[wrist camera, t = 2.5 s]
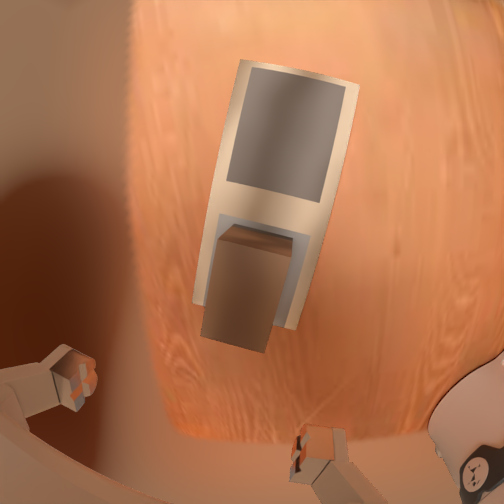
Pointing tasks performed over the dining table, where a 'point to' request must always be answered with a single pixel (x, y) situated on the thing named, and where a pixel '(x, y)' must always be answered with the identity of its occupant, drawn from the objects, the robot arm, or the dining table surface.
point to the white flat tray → (279, 169)
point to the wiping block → (246, 286)
